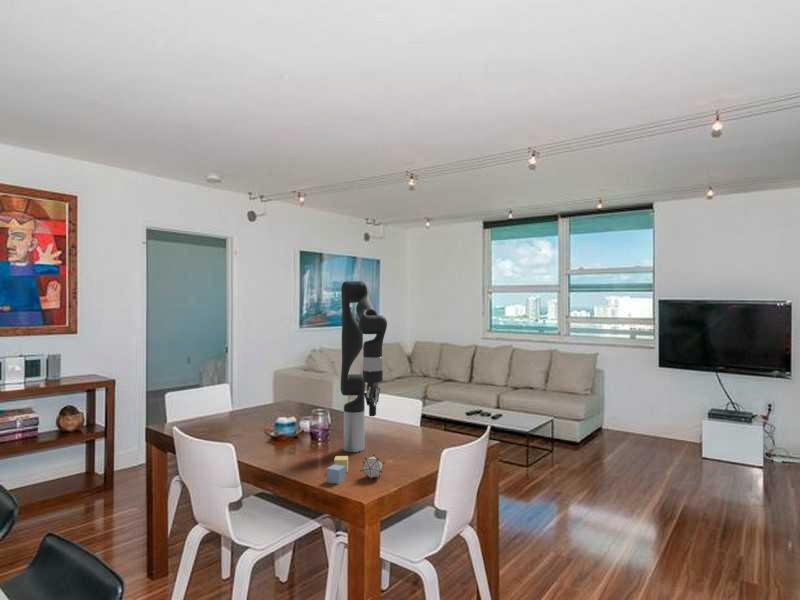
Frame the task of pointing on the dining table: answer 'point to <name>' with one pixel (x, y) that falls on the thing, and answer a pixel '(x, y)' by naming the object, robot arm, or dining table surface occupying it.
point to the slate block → (336, 474)
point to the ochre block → (341, 461)
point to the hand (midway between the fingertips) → (372, 415)
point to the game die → (372, 467)
